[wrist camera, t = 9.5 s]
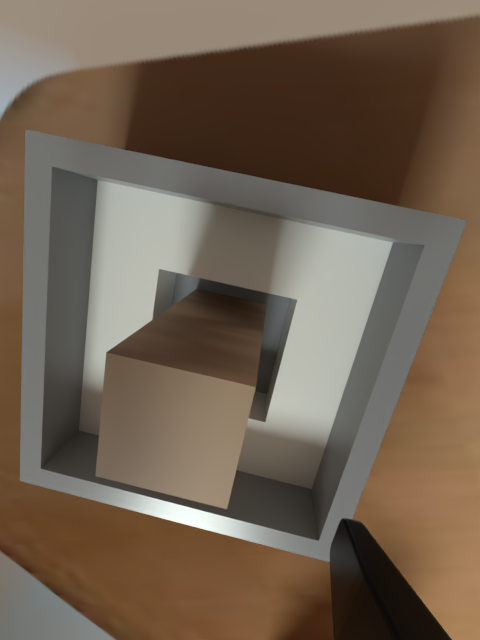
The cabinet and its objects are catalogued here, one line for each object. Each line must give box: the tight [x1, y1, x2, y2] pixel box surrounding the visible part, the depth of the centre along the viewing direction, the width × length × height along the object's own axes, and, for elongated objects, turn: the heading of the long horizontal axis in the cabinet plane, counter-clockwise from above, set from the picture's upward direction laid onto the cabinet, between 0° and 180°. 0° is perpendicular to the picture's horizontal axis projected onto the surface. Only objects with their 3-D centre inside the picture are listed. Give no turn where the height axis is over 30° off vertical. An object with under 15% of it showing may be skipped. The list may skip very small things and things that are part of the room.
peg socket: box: [20, 129, 467, 562], centre depth 16 cm, size 15×15×7 cm
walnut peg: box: [95, 289, 267, 509], centre depth 14 cm, size 4×4×10 cm
